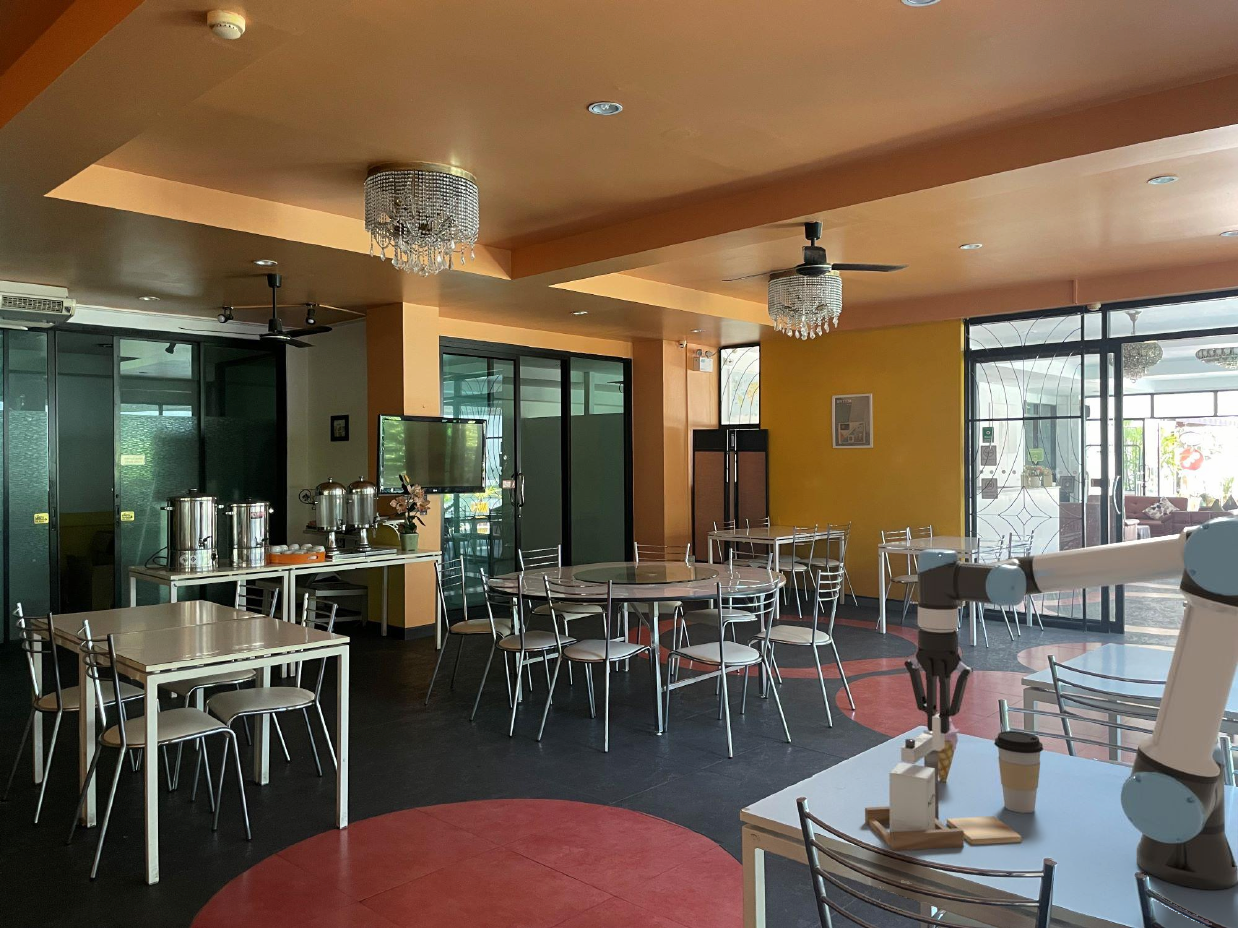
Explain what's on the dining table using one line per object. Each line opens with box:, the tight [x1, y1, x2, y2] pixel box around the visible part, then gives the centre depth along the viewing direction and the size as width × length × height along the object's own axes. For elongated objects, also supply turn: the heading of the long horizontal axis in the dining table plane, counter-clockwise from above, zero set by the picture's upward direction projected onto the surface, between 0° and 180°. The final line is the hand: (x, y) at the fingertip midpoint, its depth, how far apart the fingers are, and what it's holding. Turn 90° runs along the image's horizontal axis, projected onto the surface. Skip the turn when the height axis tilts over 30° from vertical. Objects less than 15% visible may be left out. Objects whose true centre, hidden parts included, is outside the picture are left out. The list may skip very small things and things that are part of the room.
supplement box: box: [889, 762, 936, 833], centre depth 174 cm, size 7×7×13 cm
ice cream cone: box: [938, 716, 961, 783], centre depth 203 cm, size 7×6×15 cm
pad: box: [946, 815, 1022, 845], centre depth 174 cm, size 10×10×1 cm
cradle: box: [864, 750, 965, 852], centre depth 175 cm, size 15×16×14 cm
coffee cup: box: [993, 730, 1044, 814], centre depth 187 cm, size 9×9×15 cm
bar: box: [900, 729, 933, 765], centre depth 177 cm, size 14×3×4 cm, turn 141°
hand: (938, 748), depth 174 cm, fingers closed
